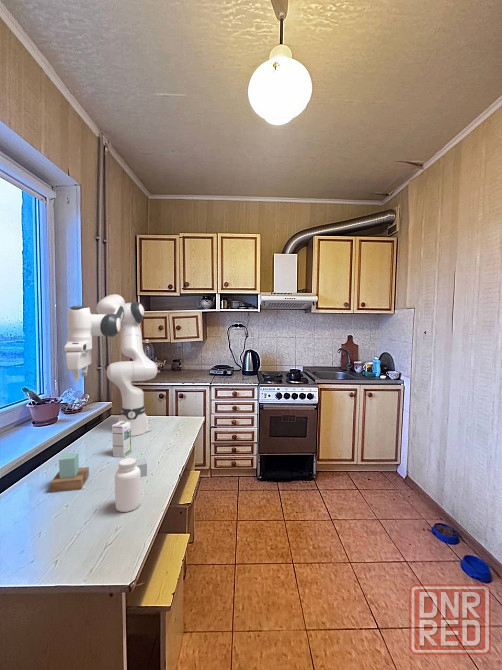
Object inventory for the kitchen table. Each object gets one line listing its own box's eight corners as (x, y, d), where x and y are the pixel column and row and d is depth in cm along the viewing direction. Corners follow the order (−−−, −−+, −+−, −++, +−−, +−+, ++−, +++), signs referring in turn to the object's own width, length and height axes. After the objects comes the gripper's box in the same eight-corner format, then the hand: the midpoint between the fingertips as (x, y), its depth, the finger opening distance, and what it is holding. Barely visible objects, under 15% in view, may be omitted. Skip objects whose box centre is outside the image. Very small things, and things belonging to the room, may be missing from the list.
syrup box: (124, 457, 139) (123, 425, 138) (112, 456, 140) (111, 424, 139) (131, 452, 144) (131, 421, 144) (120, 451, 145) (119, 420, 145)
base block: (60, 479, 120) (60, 469, 120) (88, 477, 122) (88, 467, 122) (50, 493, 110) (49, 482, 110) (81, 490, 113) (80, 479, 112)
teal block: (64, 472, 118) (63, 454, 118) (79, 470, 119) (78, 452, 119) (59, 478, 113) (58, 459, 113) (74, 476, 114) (74, 458, 114)
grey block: (131, 473, 125) (131, 461, 125) (144, 470, 127) (144, 458, 127) (133, 478, 120) (133, 466, 120) (147, 476, 123) (146, 463, 123)
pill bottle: (121, 498, 107) (121, 455, 107) (144, 498, 107) (144, 456, 106) (110, 512, 99) (109, 466, 99) (135, 513, 99) (134, 467, 98)
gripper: (79, 343, 137) (80, 374, 138) (62, 347, 117) (63, 383, 118) (95, 343, 138) (95, 374, 139) (80, 347, 119) (81, 383, 119)
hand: (80, 378), depth 128 cm, fingers open, 8 cm apart
